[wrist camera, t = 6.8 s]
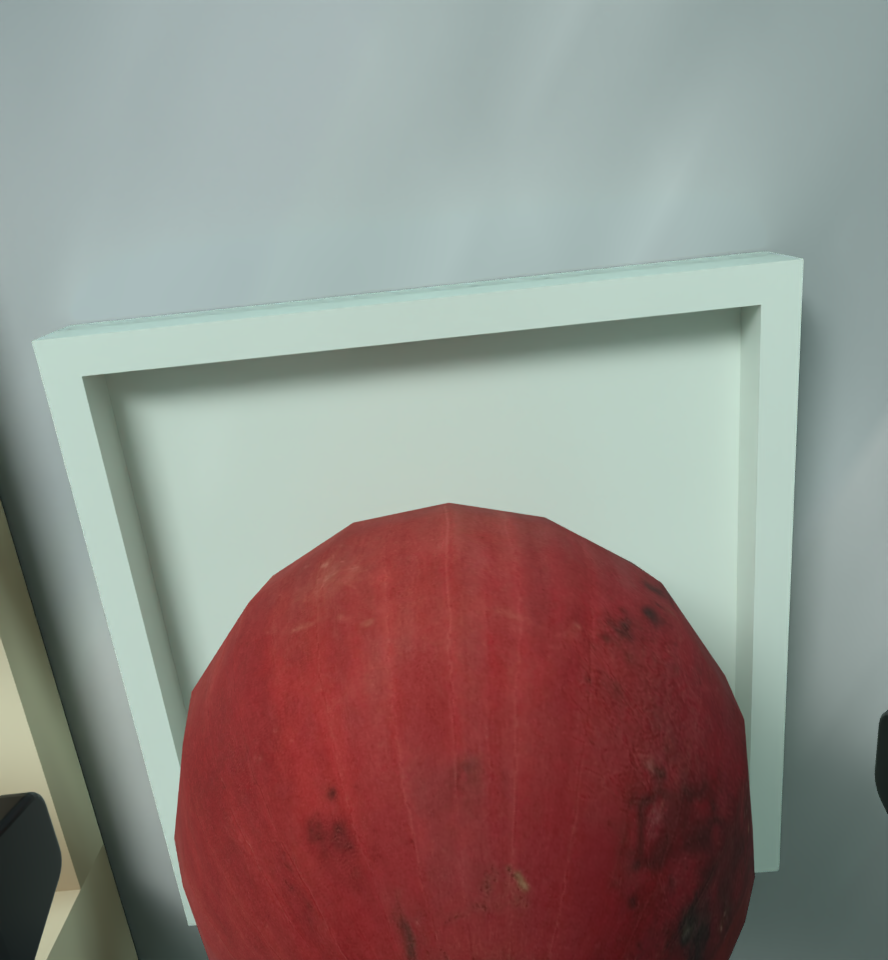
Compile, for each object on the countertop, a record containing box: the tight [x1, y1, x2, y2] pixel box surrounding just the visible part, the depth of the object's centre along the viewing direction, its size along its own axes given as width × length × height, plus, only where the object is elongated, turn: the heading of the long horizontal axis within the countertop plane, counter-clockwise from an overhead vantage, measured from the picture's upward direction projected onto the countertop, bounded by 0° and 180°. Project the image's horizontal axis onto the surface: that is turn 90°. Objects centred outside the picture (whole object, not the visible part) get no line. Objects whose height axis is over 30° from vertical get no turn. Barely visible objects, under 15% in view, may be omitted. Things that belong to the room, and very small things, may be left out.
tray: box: [32, 251, 803, 926], centre depth 12 cm, size 10×10×1 cm
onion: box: [174, 503, 755, 960], centre depth 9 cm, size 6×6×8 cm
